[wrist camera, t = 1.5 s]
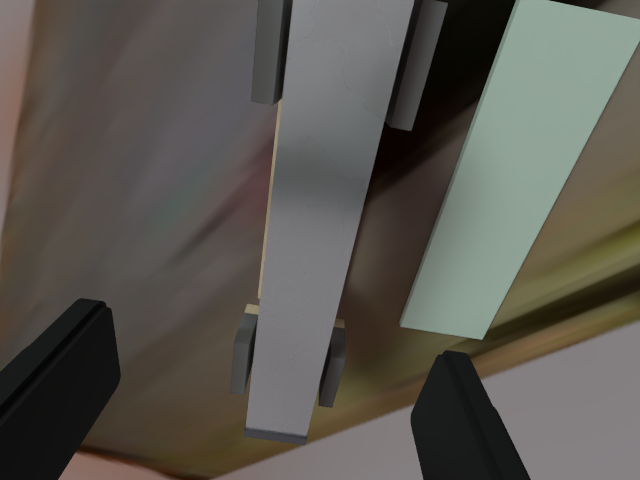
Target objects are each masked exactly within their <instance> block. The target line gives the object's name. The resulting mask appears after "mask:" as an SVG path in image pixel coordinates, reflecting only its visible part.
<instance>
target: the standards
mask: <svg viewBox="0 0 640 480" xmlns="http://www.w3.org/2000/svg"><path fill="white" fill-rule="evenodd" d="M447 5H448V3H444V2H439V1H434V0H420V1H419V2H417V3H416V4H415V5H413V8H412V12H411V16H410V20H409V24H408V28H407V32H406V36H405V40H404V44H403V48H402V52H401V56H400V60H399V64H398V68H397V72H396V76H395V80H394V84H393V88H392V92H391V97H390V101H389V105H388V109H387V113H386V117H385V121H386V122H387V124H388V125H389V126H390V127H392V128H398V129H403V130H408V131H412V127H413V124H414V120H415V117H416V113H417V110H418V106H419V103H420V99H421V96H422V92H423V89H424V85H425V82H426V78H427V75H428V71H429V68H430V64H431V61H432V57H433V54H434V50H435V47H436V43H437V40H438V36H439V33H440V29H441V26H442V23H443V19H444V16H445V12H446V9H447ZM292 7H293V0H258V12H257V26H256V40H255V54H254V68H253V82H252V95H251V101H253V102H258V103H263V104H269V105H274V104H275V103H277V102H278V101H279V104H278V114H277V123H276V132H275V142H274V151H273V160H272V170H271V179H270V188H269V198H268V207H267V217H266V226H265V235H264V245H263V254H262V263H261V273H260V282H259V291H258V298H260V295H261V286H262V277H263V268H264V259H265V250H266V241H267V232H268V223H269V214H270V205H271V196H272V187H273V178H274V169H275V160H276V151H277V142H278V133H279V124H280V115H281V106H282V97H283V88H284V79H285V70H286V61H287V52H288V43H289V34H290V25H291V16H292ZM258 313H259V306H257V305H251V304H247V307H246V310H245V312H244V315H243V318H242V321H241V324H240V326H239V329H238V332H237V335H236V338H235V340H234V347H233V361H232V375H231V389H230V393H236V394H243V395H244V393H245V389H246V385H247V382H248V378H249V374H250V371H251V367H252V363H253V358H254V349H255V340H256V331H257V322H258ZM345 360H346V352H345V324H344V319H339V318H335V322H334V326H333V330H332V334H331V338H330V342H329V347H328V351H327V355H326V359H325V363H324V367H323V371H322V375H321V379H320V385H319V406H324V407H331V408H332V406H333V402H334V399H335V395H336V392H337V388H338V385H339V381H340V378H341V374H342V371H343V367H344V364H345Z"/></svg>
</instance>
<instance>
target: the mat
mask: <svg viewBox="0 0 640 480" xmlns="http://www.w3.org/2000/svg"><path fill="white" fill-rule="evenodd" d="M639 41H640V19H635V18H630V17H625V16H620V15H616V14H611V13H606V12H601V11H596V10H592V9H587V8H582V7H577V6H572V5H567V4H563V3H558V2H553V1H548V0H516V2H515V5H514V7H513V10H512V13H511V16H510V18H509V21H508V24H507V27H506V29H505V32H504V35H503V38H502V40H501V43H500V46H499V49H498V51H497V54H496V57H495V60H494V62H493V65H492V68H491V71H490V73H489V76H488V79H487V82H486V85H485V87H484V90H483V93H482V96H481V98H480V101H479V104H478V107H477V109H476V112H475V115H474V118H473V120H472V123H471V126H470V129H469V131H468V134H467V137H466V140H465V142H464V145H463V148H462V151H461V153H460V156H459V159H458V162H457V164H456V167H455V170H454V173H453V175H452V178H451V181H450V184H449V186H448V189H447V192H446V195H445V197H444V200H443V203H442V206H441V208H440V211H439V214H438V217H437V219H436V222H435V225H434V228H433V231H432V233H431V236H430V239H429V242H428V244H427V247H426V250H425V253H424V255H423V258H422V261H421V264H420V266H419V269H418V272H417V275H416V277H415V280H414V283H413V286H412V288H411V291H410V294H409V297H408V299H407V302H406V305H405V308H404V310H403V313H402V316H401V319H400V321H399V324H400V327H405V328H412V329H418V330H424V331H430V332H437V333H443V334H449V335H455V336H462V337H468V338H474V339H480V340H482V339H483V337H484V335H485V333H486V332H487V330H488V328H489V326H490V324H491V322H492V320H493V318H494V316H495V314H496V313H497V311H498V309H499V307H500V305H501V303H502V301H503V299H504V297H505V295H506V294H507V292H508V290H509V288H510V286H511V284H512V282H513V280H514V278H515V277H516V275H517V273H518V271H519V269H520V267H521V265H522V263H523V261H524V259H525V258H526V256H527V254H528V252H529V250H530V248H531V246H532V244H533V242H534V240H535V239H536V237H537V235H538V233H539V231H540V229H541V227H542V225H543V223H544V221H545V220H546V218H547V216H548V214H549V212H550V210H551V208H552V206H553V204H554V202H555V201H556V199H557V197H558V195H559V193H560V191H561V189H562V187H563V185H564V184H565V182H566V180H567V178H568V176H569V174H570V172H571V170H572V168H573V166H574V165H575V163H576V161H577V159H578V157H579V155H580V153H581V151H582V149H583V147H584V146H585V144H586V142H587V140H588V138H589V136H590V134H591V132H592V130H593V128H594V127H595V125H596V123H597V121H598V119H599V117H600V115H601V113H602V111H603V109H604V108H605V106H606V104H607V102H608V100H609V98H610V96H611V94H612V92H613V91H614V89H615V87H616V85H617V83H618V81H619V79H620V77H621V75H622V73H623V72H624V70H625V68H626V66H627V64H628V62H629V60H630V58H631V56H632V54H633V53H634V51H635V49H636V47H637V45H638V43H639Z"/></svg>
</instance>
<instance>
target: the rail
mask: <svg viewBox="0 0 640 480" xmlns="http://www.w3.org/2000/svg"><path fill="white" fill-rule="evenodd" d="M413 4H414V0H293V7H292V16H291V25H290V34H289V43H288V52H287V61H286V70H285V79H284V88H283V97H282V106H281V115H280V124H279V133H278V142H277V151H276V160H275V169H274V178H273V187H272V196H271V205H270V214H269V223H268V232H267V241H266V250H265V259H264V268H263V277H262V286H261V295H260V304H259V313H258V322H257V331H256V340H255V349H254V358H253V367H252V376H251V385H250V394H249V403H248V412H247V421H246V426H245V430H244V437H251V438H258V439H265V440H272V441H279V442H286V443H293V444H300V445H305V444H306V440H307V431H308V427H309V423H310V419H311V415H312V411H313V407H314V403H315V399H316V395H317V391H318V387H319V383H320V379H321V375H322V371H323V367H324V363H325V359H326V355H327V351H328V347H329V342H330V338H331V334H332V330H333V326H334V322H335V318H336V314H337V310H338V306H339V302H340V298H341V294H342V290H343V286H344V282H345V278H346V274H347V270H348V266H349V262H350V258H351V254H352V250H353V246H354V242H355V238H356V234H357V230H358V226H359V222H360V217H361V213H362V209H363V205H364V201H365V197H366V193H367V189H368V185H369V181H370V177H371V173H372V169H373V165H374V161H375V157H376V153H377V149H378V145H379V141H380V137H381V133H382V129H383V125H384V121H385V117H386V113H387V109H388V105H389V101H390V97H391V92H392V88H393V84H394V80H395V76H396V72H397V68H398V64H399V60H400V56H401V52H402V48H403V44H404V40H405V36H406V32H407V28H408V24H409V20H410V16H411V12H412V8H413Z"/></svg>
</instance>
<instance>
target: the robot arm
mask: <svg viewBox="0 0 640 480" xmlns="http://www.w3.org/2000/svg"><path fill="white" fill-rule="evenodd" d="M120 377H121V373H120V366H119V359H118V352H117V345H116V338H115V330H114V323H113V316H112V310H111V309H110V308H108V307H107V306H106V303H105V302H103V301H97V300H90V299H83V298H81V299H78V300H77V301H75V302H74V303H73V304H72V305H71V306H70V307H69V308H68V309H67V310H66V311H65V312H64V313H63V314H62V315H61V316H60V317H59V318H58V319H57V320H56V321H55V322H54V323H52V324H51V325H50V326H49V327H48V328H47V329H46V330H45V331H44V332H43V333H42V334H41V335H40V336H39V337H38V338H37V339H36V340H35V341H34V342H33V343H32V344H31V345H30V346H28V347H26V348H25V349H24V350H23V351H21V352H20V353H19V354H18V355H17V356H16V357H15V358H14V359H13V360H12V361H11V362H10V363H9V364H8V365H7V366H6V367H5V368H4V369H3V370H2V371H1V372H0V480H58V479H59V477H60V476H61V474H62V473H63V471H64V469H65V468H66V466H67V465H68V463H69V461H70V460H71V458H72V457H73V455H74V454H75V452H76V451H77V449H78V448H79V446H80V444H81V443H82V441H83V440H84V438H85V437H86V435H87V434H88V432H89V430H90V429H91V427H92V426H93V424H94V423H95V421H96V419H97V418H98V416H99V415H100V413H101V412H102V410H103V409H104V407H105V405H106V404H107V402H108V401H109V399H110V398H111V396H112V394H113V393H114V391H115V390H116V388H117V386H118V384H119V381H120ZM411 427H412V432H413V435H414V440H415V445H416V449H417V453H418V458H419V462H420V466H421V471H422V475H423V479H424V480H531V479H530V477H529V475H528V473H527V471H526V469H525V467H524V465H523V463H522V461H521V459H520V457H519V454H518V452H517V450H516V448H515V446H514V444H513V442H512V440H511V438H510V436H509V434H508V432H507V430H506V428H505V426H504V424H503V422H502V419H501V418H500V416H499V414H498V412H497V410H496V409H495V407H493V405H492V403H491V401H490V399H489V397H488V395H487V393H486V391H485V389H484V387H483V385H482V382H481V380H480V378H479V376H478V374H477V372H476V370H475V368H474V366H473V364H472V362H471V360H470V357H469V356H468V354H466V353H462V352H455V351H448V350H446V351H444V352H443V354H442V355H440V354H439V355H438V356H437V357H436V359H435V362H434V364H433V366H432V368H431V371H430V373H429V375H428V377H427V379H426V382H425V384H424V386H423V388H422V390H421V393H420V395H419V397H418V399H417V401H416V404H415V406H414V408H413V411H412V413H411Z"/></svg>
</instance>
